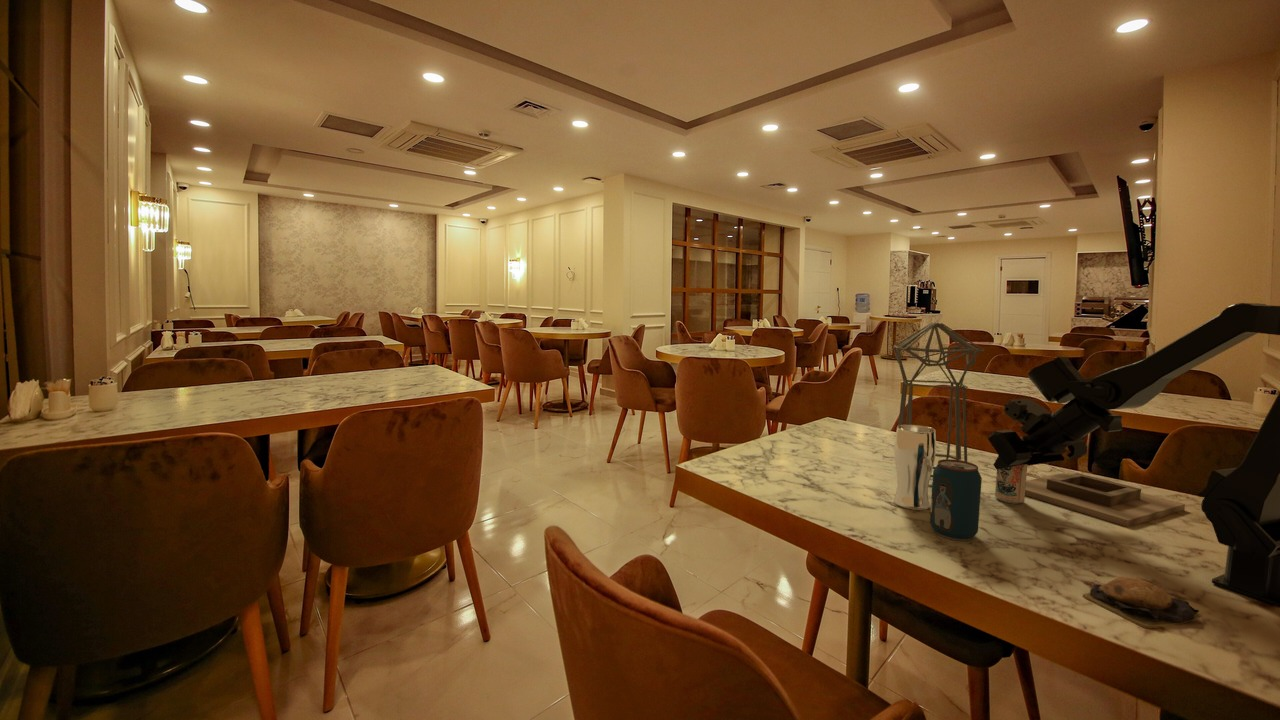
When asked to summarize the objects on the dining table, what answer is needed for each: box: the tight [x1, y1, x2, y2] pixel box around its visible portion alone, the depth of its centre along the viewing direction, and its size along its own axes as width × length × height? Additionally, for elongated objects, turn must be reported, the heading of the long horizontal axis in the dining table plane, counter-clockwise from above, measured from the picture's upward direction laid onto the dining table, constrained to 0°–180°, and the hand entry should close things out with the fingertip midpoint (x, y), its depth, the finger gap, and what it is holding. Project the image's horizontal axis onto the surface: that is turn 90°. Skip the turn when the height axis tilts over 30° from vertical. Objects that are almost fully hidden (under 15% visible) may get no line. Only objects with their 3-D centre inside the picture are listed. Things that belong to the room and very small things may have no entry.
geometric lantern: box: [892, 322, 985, 488], centre depth 112 cm, size 16×16×35 cm
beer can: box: [994, 453, 1028, 505], centre depth 102 cm, size 5×5×12 cm
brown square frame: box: [1025, 472, 1186, 528], centre depth 103 cm, size 20×20×3 cm
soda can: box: [929, 458, 983, 542], centre depth 86 cm, size 7×7×12 cm
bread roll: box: [1082, 576, 1201, 629], centre depth 66 cm, size 11×8×4 cm
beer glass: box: [893, 424, 937, 511], centre depth 99 cm, size 7×7×15 cm
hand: (1005, 466), depth 103 cm, fingers closed on beer can, 5 cm apart
